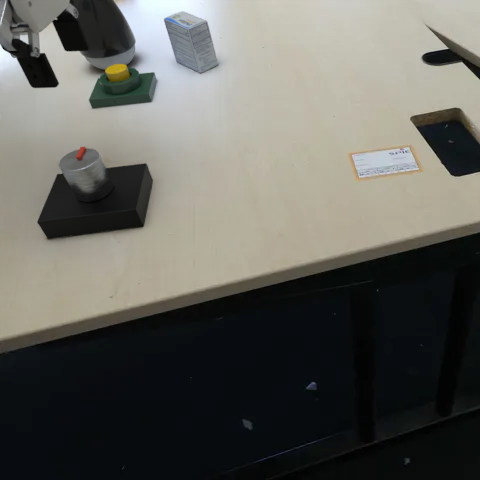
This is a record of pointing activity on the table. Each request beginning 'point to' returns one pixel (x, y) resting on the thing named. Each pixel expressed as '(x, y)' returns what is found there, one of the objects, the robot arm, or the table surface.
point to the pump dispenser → (105, 33)
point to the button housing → (123, 90)
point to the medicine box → (191, 41)
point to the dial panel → (98, 205)
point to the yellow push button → (117, 72)
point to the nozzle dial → (86, 174)
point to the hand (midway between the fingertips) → (62, 67)
